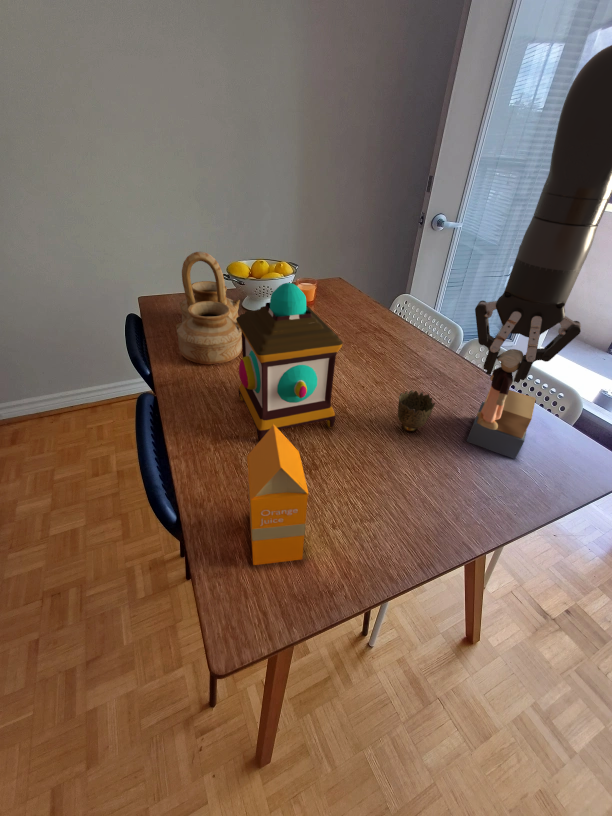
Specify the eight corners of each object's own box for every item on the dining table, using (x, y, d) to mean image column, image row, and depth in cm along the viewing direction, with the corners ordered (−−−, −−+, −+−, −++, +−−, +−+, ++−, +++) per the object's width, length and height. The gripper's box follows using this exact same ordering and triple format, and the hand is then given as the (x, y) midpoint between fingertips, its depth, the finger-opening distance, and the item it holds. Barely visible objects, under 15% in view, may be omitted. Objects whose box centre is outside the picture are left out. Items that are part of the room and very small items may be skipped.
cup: (429, 440, 86) (438, 410, 81) (395, 438, 86) (403, 408, 81) (421, 419, 92) (430, 390, 87) (390, 417, 92) (396, 388, 87)
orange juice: (252, 565, 59) (248, 469, 48) (248, 518, 66) (245, 424, 55) (303, 559, 61) (312, 464, 49) (295, 513, 68) (301, 421, 56)
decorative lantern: (254, 450, 80) (250, 308, 63) (231, 397, 95) (223, 270, 77) (343, 430, 87) (361, 297, 69) (309, 384, 102) (317, 264, 84)
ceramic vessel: (249, 365, 107) (247, 272, 93) (178, 370, 103) (164, 273, 89) (238, 315, 134) (234, 237, 119) (181, 317, 130) (170, 236, 115)
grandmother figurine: (507, 434, 62) (541, 363, 54) (483, 433, 62) (513, 361, 54) (489, 406, 68) (517, 338, 60) (467, 404, 68) (493, 336, 60)
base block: (521, 434, 90) (529, 416, 87) (515, 459, 83) (524, 441, 80) (475, 418, 94) (482, 401, 91) (466, 441, 86) (473, 423, 83)
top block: (526, 416, 87) (536, 397, 84) (522, 438, 80) (531, 419, 77) (484, 403, 90) (491, 384, 87) (476, 423, 84) (484, 403, 81)
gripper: (486, 255, 50) (450, 373, 60) (616, 277, 45) (552, 403, 55) (495, 243, 55) (460, 353, 65) (612, 262, 50) (555, 379, 60)
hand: (502, 375), depth 60 cm, fingers closed on grandmother figurine, 3 cm apart
